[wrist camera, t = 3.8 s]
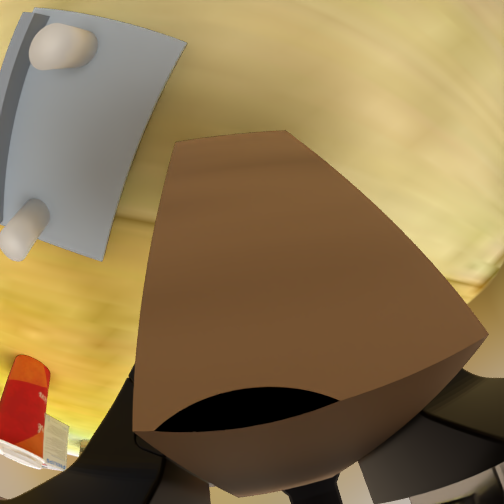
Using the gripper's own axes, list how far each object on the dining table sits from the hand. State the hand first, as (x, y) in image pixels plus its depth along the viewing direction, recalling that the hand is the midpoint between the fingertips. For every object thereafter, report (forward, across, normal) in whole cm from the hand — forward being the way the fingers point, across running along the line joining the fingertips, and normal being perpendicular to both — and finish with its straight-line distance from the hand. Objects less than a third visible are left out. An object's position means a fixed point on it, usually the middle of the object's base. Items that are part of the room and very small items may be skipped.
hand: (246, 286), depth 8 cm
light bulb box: (+12, +43, +43) cm, 62 cm away
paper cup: (+12, +28, +21) cm, 37 cm away
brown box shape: (+2, 0, 0) cm, 2 cm away
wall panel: (+12, +10, -4) cm, 16 cm away
